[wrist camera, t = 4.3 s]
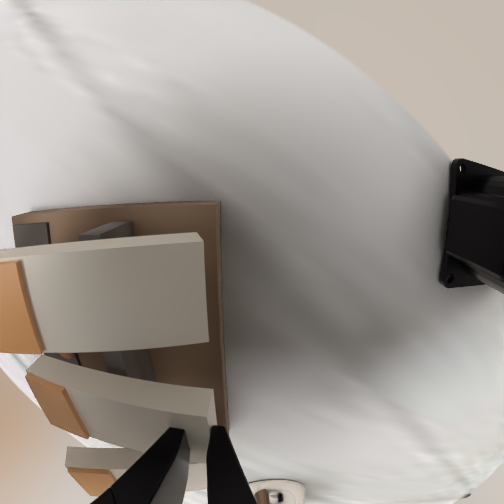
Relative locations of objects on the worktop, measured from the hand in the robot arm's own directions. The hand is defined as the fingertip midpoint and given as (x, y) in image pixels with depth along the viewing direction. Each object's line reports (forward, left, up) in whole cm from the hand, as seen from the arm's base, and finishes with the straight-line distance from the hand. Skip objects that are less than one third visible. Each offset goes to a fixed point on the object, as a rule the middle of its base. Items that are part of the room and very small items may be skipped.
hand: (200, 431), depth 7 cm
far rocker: (+3, +4, 0) cm, 5 cm away
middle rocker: (+3, 0, 0) cm, 3 cm away
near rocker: (+3, -5, 0) cm, 5 cm away
